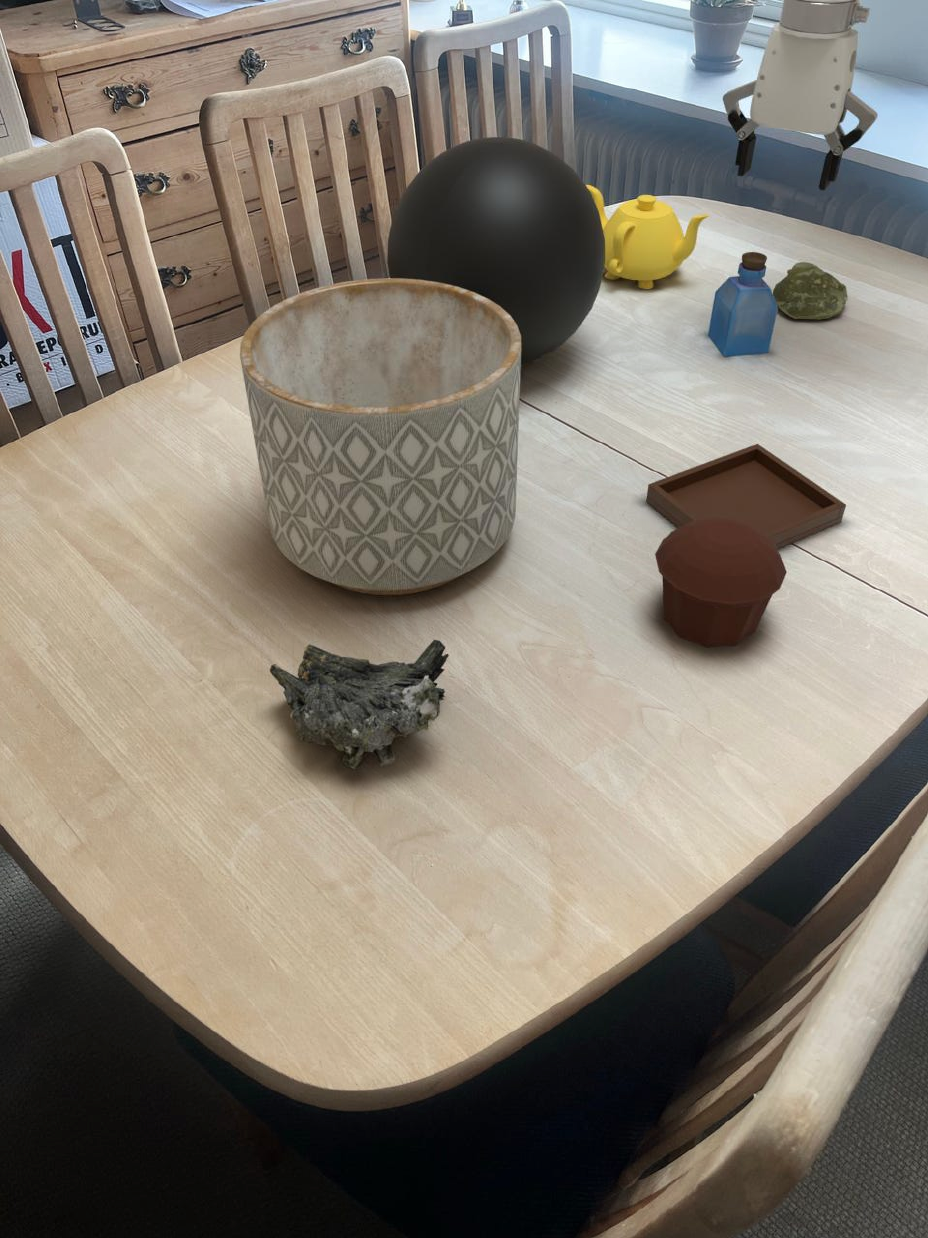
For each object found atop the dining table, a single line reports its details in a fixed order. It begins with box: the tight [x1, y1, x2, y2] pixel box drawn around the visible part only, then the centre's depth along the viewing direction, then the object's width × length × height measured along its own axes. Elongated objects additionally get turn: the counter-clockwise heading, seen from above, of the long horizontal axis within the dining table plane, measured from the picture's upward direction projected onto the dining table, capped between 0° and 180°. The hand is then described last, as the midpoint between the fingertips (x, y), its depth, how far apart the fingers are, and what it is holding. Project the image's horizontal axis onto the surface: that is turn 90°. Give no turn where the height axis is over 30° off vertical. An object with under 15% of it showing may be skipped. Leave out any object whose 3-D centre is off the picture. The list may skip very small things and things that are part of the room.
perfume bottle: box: [707, 251, 779, 358], centre depth 133 cm, size 6×6×12 cm
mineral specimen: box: [269, 639, 450, 770], centre depth 85 cm, size 15×13×10 cm
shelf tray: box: [645, 443, 847, 550], centre depth 108 cm, size 16×14×2 cm
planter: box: [239, 277, 522, 596], centre depth 99 cm, size 26×26×22 cm
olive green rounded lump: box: [772, 261, 849, 321], centre depth 144 cm, size 10×7×10 cm
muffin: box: [654, 517, 788, 649], centre depth 94 cm, size 12×11×10 cm
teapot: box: [585, 184, 710, 290], centre depth 148 cm, size 20×15×12 cm
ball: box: [386, 136, 605, 367], centre depth 125 cm, size 27×27×27 cm
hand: (783, 179), depth 120 cm, fingers open, 9 cm apart
